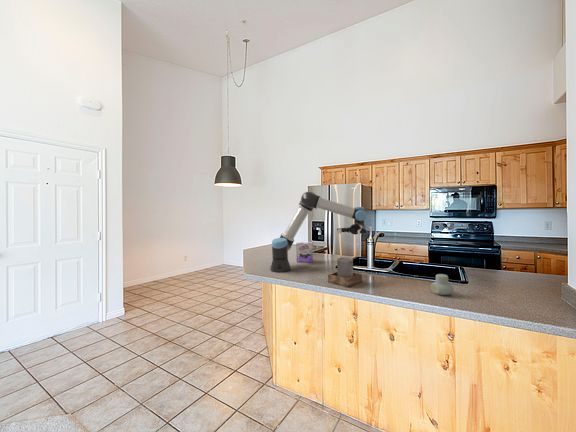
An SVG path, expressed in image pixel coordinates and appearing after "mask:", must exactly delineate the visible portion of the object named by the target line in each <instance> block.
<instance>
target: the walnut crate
mask: <svg viewBox="0 0 576 432" xmlns="http://www.w3.org/2000/svg"><path fill="white" fill-rule="evenodd" d="M327 282H328V283H330V284H332V285H333V284H334V285H336V286H340V287H345V288H351V287H353V286H355V285H357V284H360V283H362V282H363V274H362V273H359V272H354V271H353V277H350V278H348V279H347V278H343V277H339V276H337V271H335V272H332V273H329V274H327Z"/></svg>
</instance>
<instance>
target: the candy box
mask: <svg viewBox="0 0 576 432" xmlns="http://www.w3.org/2000/svg"><path fill="white" fill-rule="evenodd" d="M295 245H296V246H295V247H296V262H297V263H314V242H313V241H312V242H311V241H304V242H303V241H301V242H299V241H297V242H296V244H295Z"/></svg>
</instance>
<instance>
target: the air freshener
mask: <svg viewBox="0 0 576 432" xmlns="http://www.w3.org/2000/svg"><path fill="white" fill-rule="evenodd" d="M430 289H431V292H432V293H434V294H436V295H439V296H449V295H451V294H453V292H454V291H455V290H454V286H453V285H451V284H450V282H449V276H448V274H444V273H437V274H436V275H435V281H434V282H432V283H430Z"/></svg>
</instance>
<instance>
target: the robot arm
mask: <svg viewBox="0 0 576 432" xmlns="http://www.w3.org/2000/svg"><path fill="white" fill-rule="evenodd" d="M313 209H316V210H317V209H321V210H323V211H326V212H330V213H334V214H337V215H340V216H343V217H346V218H349V219H350V218H351V219H352V220H353V224H351V225H350V226H349V227H341V228H336V234H337V235H339V234H342V233H348V234H349V233H351V234H352V235H357V236H358V235H361V234H367V229H366V227H367V226H366V224H365V220H366V218H367V213H366V211H365V207H364V206H355V207H352V206H349V205H345V204H342V203H339V202H335V201H332V200H329V199H326V198H323V197H321V196H320V195H317V194H316V193H315V192H313V191H305V192H303V194H301V197H300V201H299V203H298V208H297V210H296V212H295V214H294V215H293V217H292V219H291V220H290V223H289V224H288V226H287V227H286V229H285V231H284V232H283V233H281V235H280V236H279V237H278V238H277V237H276V238H274V239H272V240H271V250H272V251H271V252H272V253H271V254H272V255H271V256H272V258H271V259H272V261H271V265H270V271H271V272H273V271H274V273H285V272H289V271H290V270H291V265H290V262H289V255H288V254H289V253H288V252H289V251H290V250H291V248H292V246H293V244H294V242H295V237H296V235H297V233H298V232H299V230H300V228H301V227H302V224H303V223H304V221H305V220H306V218H307V217H308V215H309V213H311V212H313Z"/></svg>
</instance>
